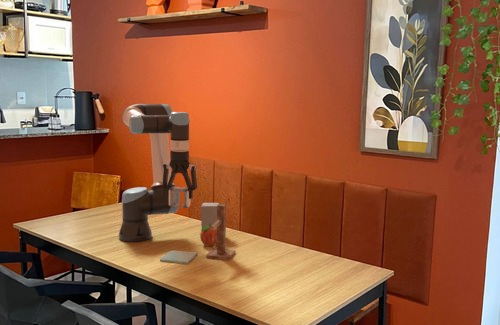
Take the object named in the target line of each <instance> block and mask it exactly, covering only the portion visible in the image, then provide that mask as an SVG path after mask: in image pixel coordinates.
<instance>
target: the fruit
mask: <svg viewBox="0 0 500 325" xmlns="http://www.w3.org/2000/svg"><path fill="white" fill-rule="evenodd" d="M211 226H212V225H210V224H209V226H206V227H203V228H202V227H201V230H200V231H201V232H200V234H199V235H200V241H201V242H202V244H204V246H208V247H210V246H214V245H217V229H215V230H211Z"/></svg>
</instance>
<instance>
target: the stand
mask: <svg viewBox="0 0 500 325" xmlns="http://www.w3.org/2000/svg"><path fill="white" fill-rule="evenodd" d="M226 217H227V205H226V204H223V203H222V204H221V203H219V205H217V221H216V222H215V223H214V224H213V225H212V226H211V230H215V229H216V228H217V243H216V247H213V248H212V249H211V250H210V251H209V252H207V254H206V257H205V258H206V259H211V258H212V259H213V260H224V261H230V260H231V259H232V257H233V256H234V255H235V254H236V249H227V248H226V240H227V239H226V236H227V235H226V231H227V230H226V229H227V228H226V226H227V223H226V222H227V221H226V219H227V218H226Z"/></svg>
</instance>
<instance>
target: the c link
mask: <svg viewBox="0 0 500 325" xmlns="http://www.w3.org/2000/svg"><path fill="white" fill-rule="evenodd" d="M176 191H178V192H179V193H183V203H182V204H181V205H180V206H181V207H180V208H181V209H188V208H189V207H187V191H188V187H187V186H186V187H185V186H175V187H171V188H170V207H177V206H178V203H176Z"/></svg>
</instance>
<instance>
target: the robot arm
mask: <svg viewBox="0 0 500 325" xmlns="http://www.w3.org/2000/svg"><path fill="white" fill-rule="evenodd" d="M121 119H122V123H123V124H124V125H125V126H127V127H128V128H129V132H130V133H131V134H133V135H134V134H135V135H141V134H149V136H150V146H151V147H150V148H151V150H150V151H151V161H152V163H151V164H152V177H153V184H152V185H150V189H149V190H148V188H147V187H145V186H142V187H141V186H138V187H132V188H128V189H126V190H124V191H123V192H122V195H121V204H122V205H121V208H122V209H121V211H122V212H121V214H122V216H121V217H122V224H121V225H120V229H119V231H118V232H119V233H118V239H119V240H120V241H122V242H127V243H139V242H145V241H148V240H150V239H151V238H152V237H153V234H152V233H153V232H152V230H151V226H150V224H149V220H148V219H149V217H148V216H152V215H153V216H154V215H156V216H157V215H169V214H176V213H177V212H178V210H179V206H180V202H181V198H180V197H181V194H180V193H181V192H178V191H176V203H178V206H177V207H170V188H171V187H176V184H175V183H174V181H175V178H176V175H177V174H182V176H183V179H184V182H185V185H186V188H188V191H187V207H188V208H189V207H190V206H191V201H192V199H193V197H194V194H193V192H194V191H196V190H197V189H198V182H197V172H196V170H197V165H195V164H194V165H193V164H191V163H190V151H189V150H190V114H189V112H185V111H173V110H172V107H171V106H170V105H169V104H167V103H166V104H165V103H136V104H132V105H130V106H129V105H128V107H126V108H125V109H124V110H123V112H122V114H121ZM169 134H170V136H169ZM169 137H170V140H169ZM169 141H170V142H169ZM188 169H189V170H190V176H189V171H188ZM190 177H191V179H190Z"/></svg>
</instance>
